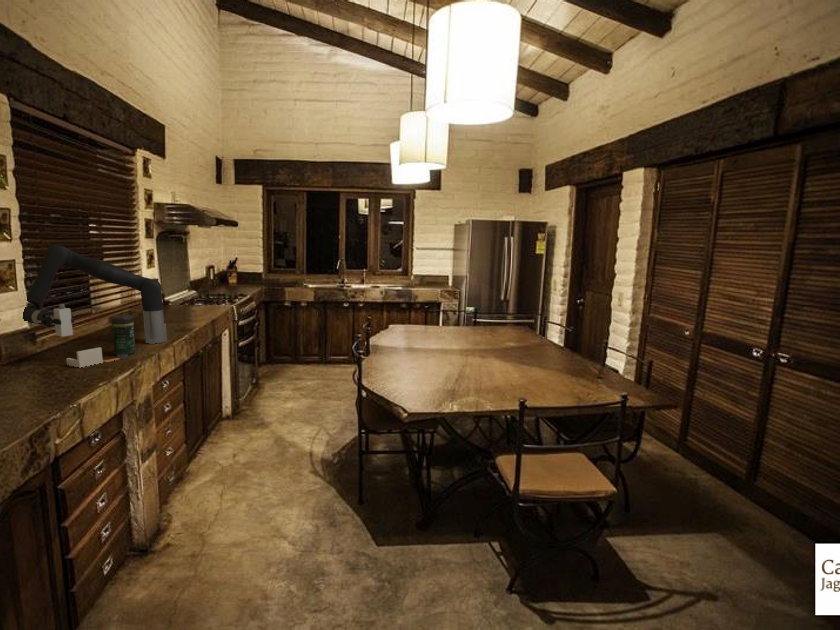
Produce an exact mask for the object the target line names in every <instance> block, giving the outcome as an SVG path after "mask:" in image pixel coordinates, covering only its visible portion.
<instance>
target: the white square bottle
mask: <svg viewBox="0 0 840 630" xmlns="http://www.w3.org/2000/svg"><path fill="white" fill-rule="evenodd" d="M53 311H54V318H55V319H60V320H61V325H58V324H55V326H54V327H55V336H56V337H68V336H73V335H74V331H73V323H72V321H71V315H72V310H71V308H68V307H65V303H59V304H58V308H53Z"/></svg>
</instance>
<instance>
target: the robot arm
mask: <svg viewBox="0 0 840 630" xmlns="http://www.w3.org/2000/svg"><path fill="white" fill-rule="evenodd" d="M61 266H63V267H68V268H72V269H75V270H78V271H81V272H83V273H85V274H87V275H88V276H91V277H92V278H94V279H98V280H100V281H104V282H106V283H109V284H113V285H117V286H121V287H122V286H123V287H128V288H131V289H134V290H136V291H138V292H140V299H141V306H142V307H141V308H142V312H143V313H142V315H143V326H144V327H143V328H144V339H145V344H147V343H149V344H150V345H155V343H157V344H163V343H165V342H167V341H168V337H167V336H168V335H167V323H165V321H164V320H165V317H164V305H163V299H162V298H163V297H162V290H163V287H162V284H161V282H160V281H158V280H156V279H153V278H148V277H145V276H142V275H138V274H136V273H133V272H131V271H129V270H127V269H124V268H122V267H120V266H117V265H115V264H113V263H109V262H107V261H104V260H101V259H96V258H93V257H88V256H84V255H82V254H80V253H78V252H75V251H73V250H70V248H67V247H66V246H63V245H59V244H53V245H50V246H48V247H47V248H46V250H45V253H44V257H43V260H42V263H41V266H40V268H39V271H38V273H37V275H36V277H35V279H34V281H33V283H32V284H31V287H30V288H29V289H28V291H27V293H26V296H27V300H26V302H27V303H28V302H29V303H30V304H32V306H33V307H29V306H26V307H25V309H24V312H23V319H24V321H28V322H31V323H30V324H32V323H34V325H38V326H43V327H48V328H52V327H53V328H54V327H55V324H58V325H61V320H60V319H55V318H54V310H52V309H51V310H50V309H43V307H44V302H45V300H46V298H47V296H48V294H49V292H50V290H51V288H52V284H53V282H54V279H55V276H56V274H57V272H58V271H59V269H60V267H61ZM71 321H72V324H73V323H74V322H75V318H74V315H72V314H71ZM162 342H163V343H162ZM149 344H148V345H149Z"/></svg>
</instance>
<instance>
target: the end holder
mask: <svg viewBox="0 0 840 630" xmlns="http://www.w3.org/2000/svg"><path fill="white" fill-rule="evenodd" d="M65 360H66V365H67V366H68V365H69V366H68V367H73V366H74V368H77V367H79V368H78V369H81V367H83V368H86V367H85V366H87V367H91V366H90V365H92V366H95V365H94V364H96V365H100V364H99V363H101V364H103V363H104V362H103V360H104V359H103V349H102V347H95V348H89V349H83V350H78V351H76V359H75V358H70V357H68V358H66V359H65Z"/></svg>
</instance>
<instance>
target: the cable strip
mask: <svg viewBox="0 0 840 630" xmlns="http://www.w3.org/2000/svg"><path fill="white" fill-rule="evenodd" d="M114 360H115V361H119V360H122V359H121V358H118V357H116V358H111V359H103V363H110V362H114Z"/></svg>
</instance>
